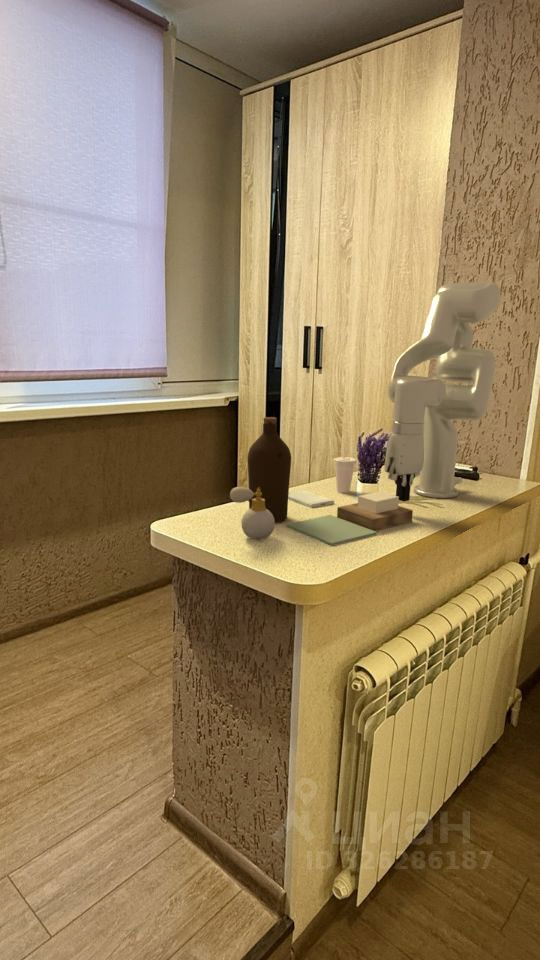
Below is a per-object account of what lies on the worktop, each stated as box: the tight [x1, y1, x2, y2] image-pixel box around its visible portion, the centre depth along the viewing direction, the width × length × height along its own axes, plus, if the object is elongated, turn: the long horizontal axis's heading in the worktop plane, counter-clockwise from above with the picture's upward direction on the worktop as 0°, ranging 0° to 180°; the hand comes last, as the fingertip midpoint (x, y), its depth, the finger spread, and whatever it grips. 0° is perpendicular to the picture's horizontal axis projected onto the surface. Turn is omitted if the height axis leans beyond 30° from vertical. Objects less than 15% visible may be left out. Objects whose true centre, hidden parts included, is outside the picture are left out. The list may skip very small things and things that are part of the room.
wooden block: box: [336, 502, 414, 532], centre depth 149 cm, size 14×12×3 cm
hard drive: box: [288, 489, 335, 509], centre depth 166 cm, size 2×8×12 cm
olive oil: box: [246, 416, 292, 524], centre depth 146 cm, size 11×11×25 cm
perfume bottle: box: [229, 486, 276, 541], centre depth 132 cm, size 8×10×12 cm
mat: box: [285, 514, 378, 547], centre depth 140 cm, size 14×16×1 cm
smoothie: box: [333, 444, 357, 494], centre depth 174 cm, size 6×6×14 cm
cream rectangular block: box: [357, 491, 400, 514], centre depth 148 cm, size 8×6×3 cm
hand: (402, 499), depth 154 cm, fingers closed
